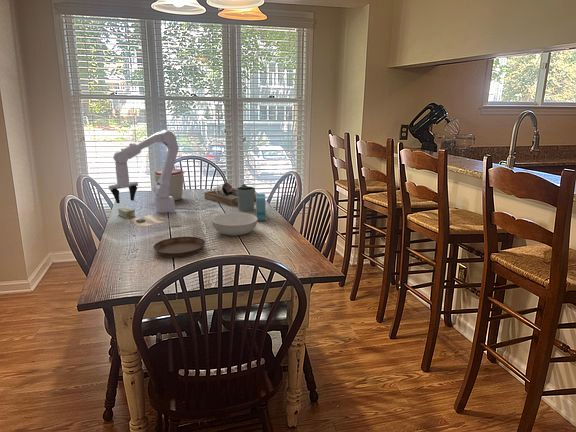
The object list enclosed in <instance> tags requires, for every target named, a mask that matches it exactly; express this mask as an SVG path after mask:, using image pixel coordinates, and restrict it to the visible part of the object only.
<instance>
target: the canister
mask: <svg viewBox="0 0 576 432" xmlns="http://www.w3.org/2000/svg"><path fill="white" fill-rule="evenodd" d="M161 172H162V169H158V170H156V171H155V172H153V176H154V180H155V185H156V184H157V182H158V180H159V179H160V176H161ZM184 174H185V171H183V170H182V169H178V168H173V171H172V174H171V177H170V181H169V182H170V187H169V191H170V193H169V196H172V197H173V198H174V201H175V202H176V201H179V200H181V199H182V197H183V191H184Z"/></svg>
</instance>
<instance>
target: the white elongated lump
mask: <svg viewBox="0 0 576 432" xmlns="http://www.w3.org/2000/svg"><path fill="white" fill-rule="evenodd" d="M240 187H249V186H248V185H246V184H242V185H241V186H240ZM232 189H233V187H232V185H231V184H230V183H228V182H225V183H222V184H220V185H217V186H216V187H215V188H214V190H215V194H216V195H220V196H223V197H227V196H228V197H229V196H230V195H231V194H232V193H233V194H237V192H232ZM231 196H232V195H231Z"/></svg>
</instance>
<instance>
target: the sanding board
mask: <svg viewBox="0 0 576 432" xmlns="http://www.w3.org/2000/svg"><path fill="white" fill-rule="evenodd" d="M138 219H144V220H145V222H142V223H138V222H136V220H138ZM125 222H128V223H130V224H132V225H133V224H134V225H135V226H138V227H140V228H144V227H148V226H153V225H157V224H163V223H166V222H167V223H168V222H170V220H169V219H166V218H164V217H161V216H159V215H156V214H153V213H152V214H148V215H144V216H139V217H132V218H127V219H125Z"/></svg>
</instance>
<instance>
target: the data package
mask: <svg viewBox="0 0 576 432" xmlns="http://www.w3.org/2000/svg"><path fill="white" fill-rule="evenodd" d="M255 194H256V201H255V203H256V204H255V206H256V207H255V209H256V212H255V214H256V215H255V216H256V217H257V218H258V220H257V222H266V219H267V218H266V216H267V215H266V211H267V210H266V194H265V193H255Z"/></svg>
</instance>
